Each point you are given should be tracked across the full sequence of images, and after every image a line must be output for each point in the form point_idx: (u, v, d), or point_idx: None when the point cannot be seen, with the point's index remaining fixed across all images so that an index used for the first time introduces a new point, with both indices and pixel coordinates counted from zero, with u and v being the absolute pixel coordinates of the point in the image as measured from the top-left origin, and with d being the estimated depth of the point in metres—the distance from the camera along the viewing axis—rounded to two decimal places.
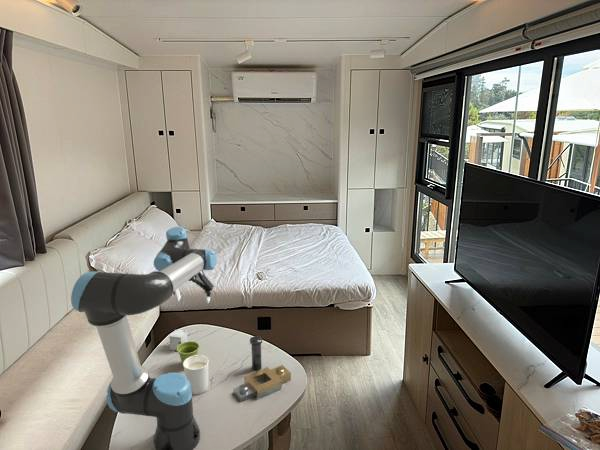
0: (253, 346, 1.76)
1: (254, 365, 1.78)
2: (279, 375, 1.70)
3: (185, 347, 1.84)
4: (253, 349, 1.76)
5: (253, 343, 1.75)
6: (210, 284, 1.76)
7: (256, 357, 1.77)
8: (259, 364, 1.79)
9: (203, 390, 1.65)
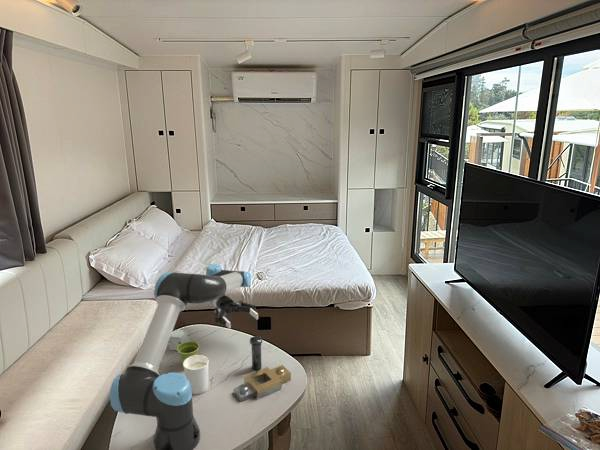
0: (253, 346, 1.76)
1: (254, 365, 1.78)
2: (279, 375, 1.70)
3: (185, 347, 1.84)
4: (253, 349, 1.76)
5: (253, 343, 1.75)
6: None
7: (256, 357, 1.77)
8: (259, 364, 1.79)
9: (203, 390, 1.65)
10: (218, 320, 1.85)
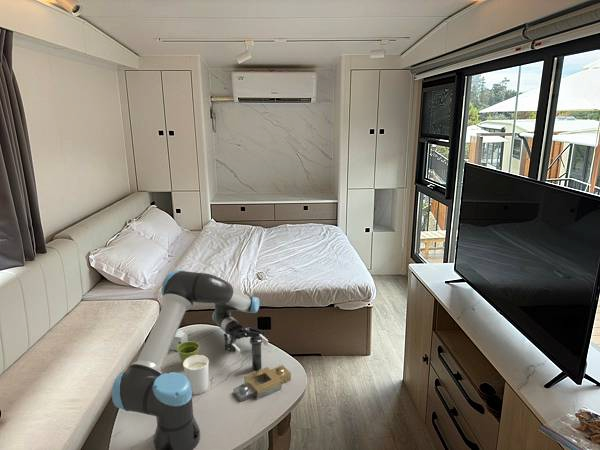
0: (253, 346, 1.76)
1: (254, 365, 1.78)
2: (279, 375, 1.70)
3: (185, 347, 1.84)
4: (253, 349, 1.76)
5: (253, 343, 1.75)
6: None
7: (256, 357, 1.77)
8: (259, 364, 1.79)
9: (203, 390, 1.65)
10: (228, 347, 1.82)
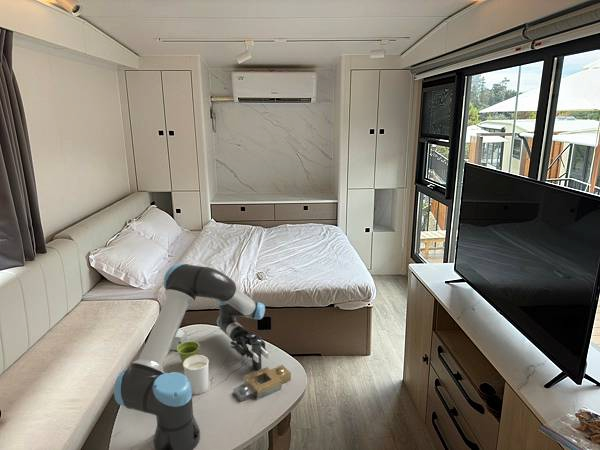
0: (253, 346, 1.76)
1: (254, 365, 1.78)
2: (279, 375, 1.70)
3: (185, 347, 1.84)
4: (253, 349, 1.76)
5: (253, 343, 1.75)
6: None
7: None
8: (259, 364, 1.79)
9: (203, 390, 1.65)
10: (245, 353, 1.77)
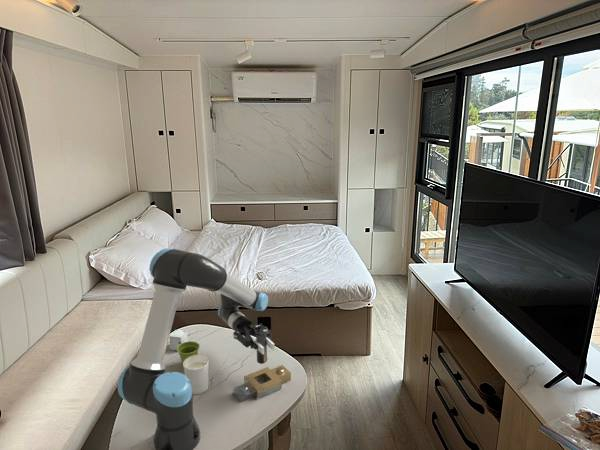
0: (258, 336, 1.61)
1: (259, 357, 1.64)
2: (279, 375, 1.70)
3: (185, 347, 1.84)
4: (258, 340, 1.62)
5: (258, 333, 1.60)
6: None
7: None
8: (264, 356, 1.64)
9: (203, 390, 1.65)
10: (249, 344, 1.63)
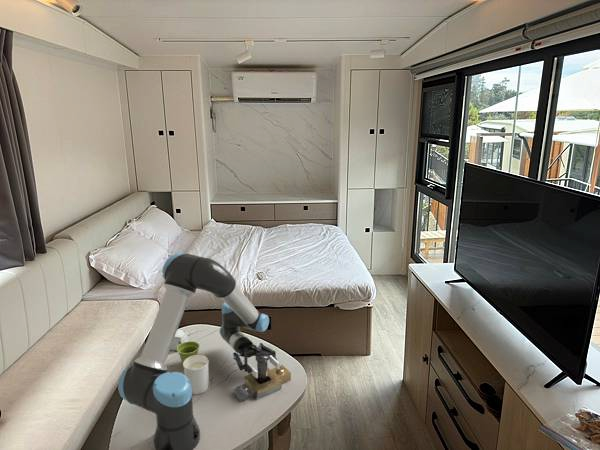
0: (259, 363, 1.64)
1: (260, 383, 1.67)
2: (279, 375, 1.70)
3: (185, 347, 1.84)
4: (259, 366, 1.65)
5: (259, 360, 1.63)
6: None
7: (262, 375, 1.65)
8: None
9: (203, 390, 1.65)
10: (243, 367, 1.64)
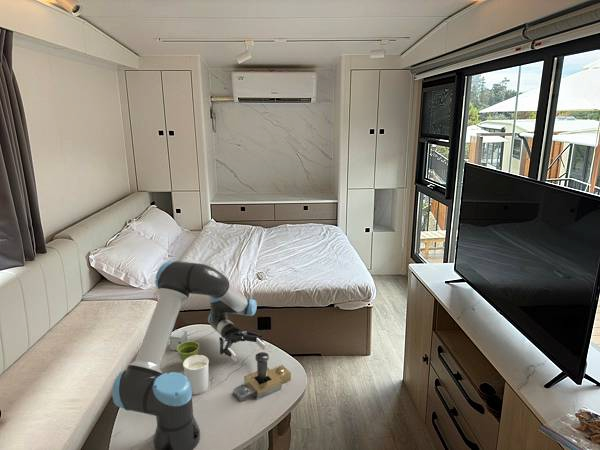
0: (259, 363, 1.64)
1: (260, 383, 1.67)
2: (279, 375, 1.70)
3: (185, 347, 1.84)
4: (259, 366, 1.65)
5: (259, 360, 1.63)
6: None
7: (262, 375, 1.65)
8: None
9: (203, 390, 1.65)
10: (223, 351, 1.75)
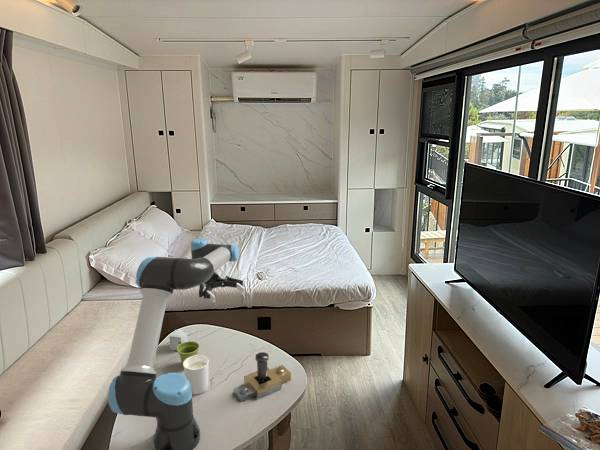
0: (259, 363, 1.64)
1: (260, 383, 1.67)
2: (279, 375, 1.70)
3: (185, 347, 1.84)
4: (259, 366, 1.65)
5: (259, 360, 1.63)
6: None
7: (262, 375, 1.65)
8: None
9: (203, 390, 1.65)
10: (202, 294, 1.73)
